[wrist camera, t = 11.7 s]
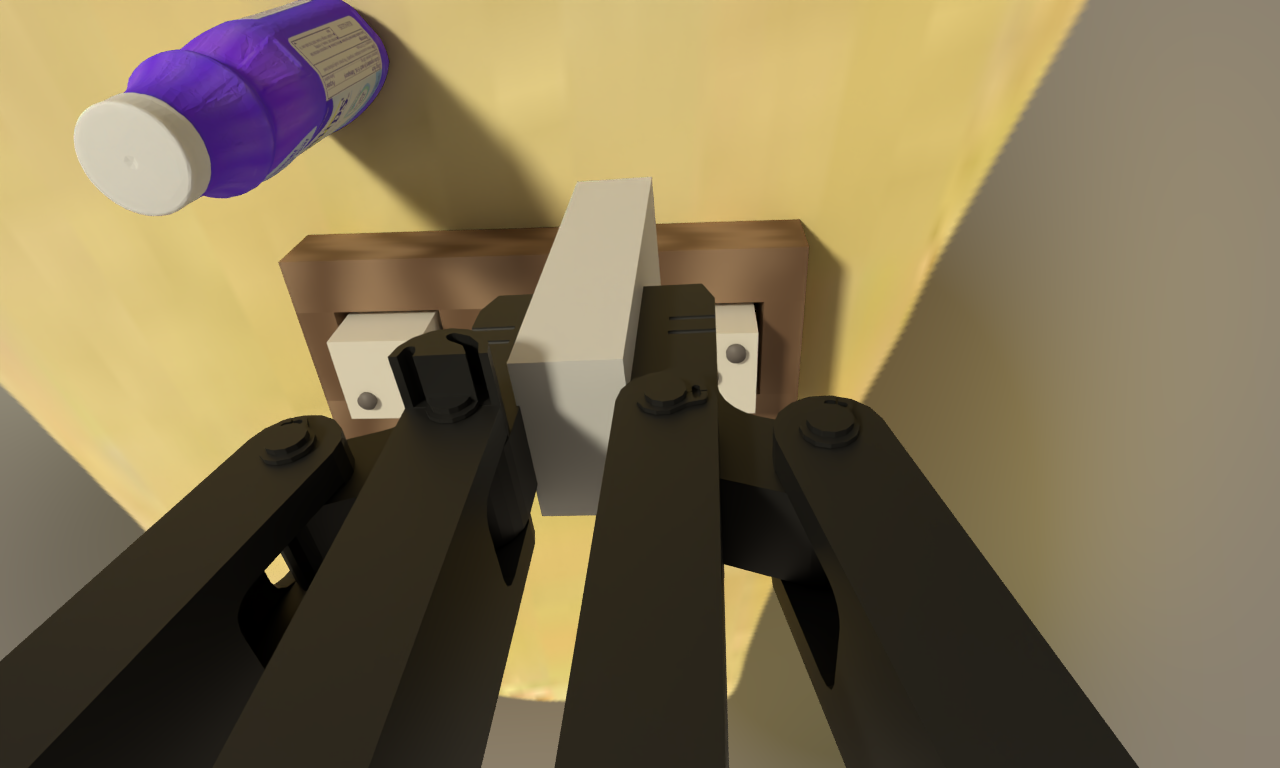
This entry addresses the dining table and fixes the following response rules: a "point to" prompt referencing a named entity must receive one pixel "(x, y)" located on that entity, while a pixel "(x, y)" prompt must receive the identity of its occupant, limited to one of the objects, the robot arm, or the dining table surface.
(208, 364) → the dining table surface
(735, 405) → the key three
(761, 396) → the keyboard base
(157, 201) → the bottle
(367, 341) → the key two
